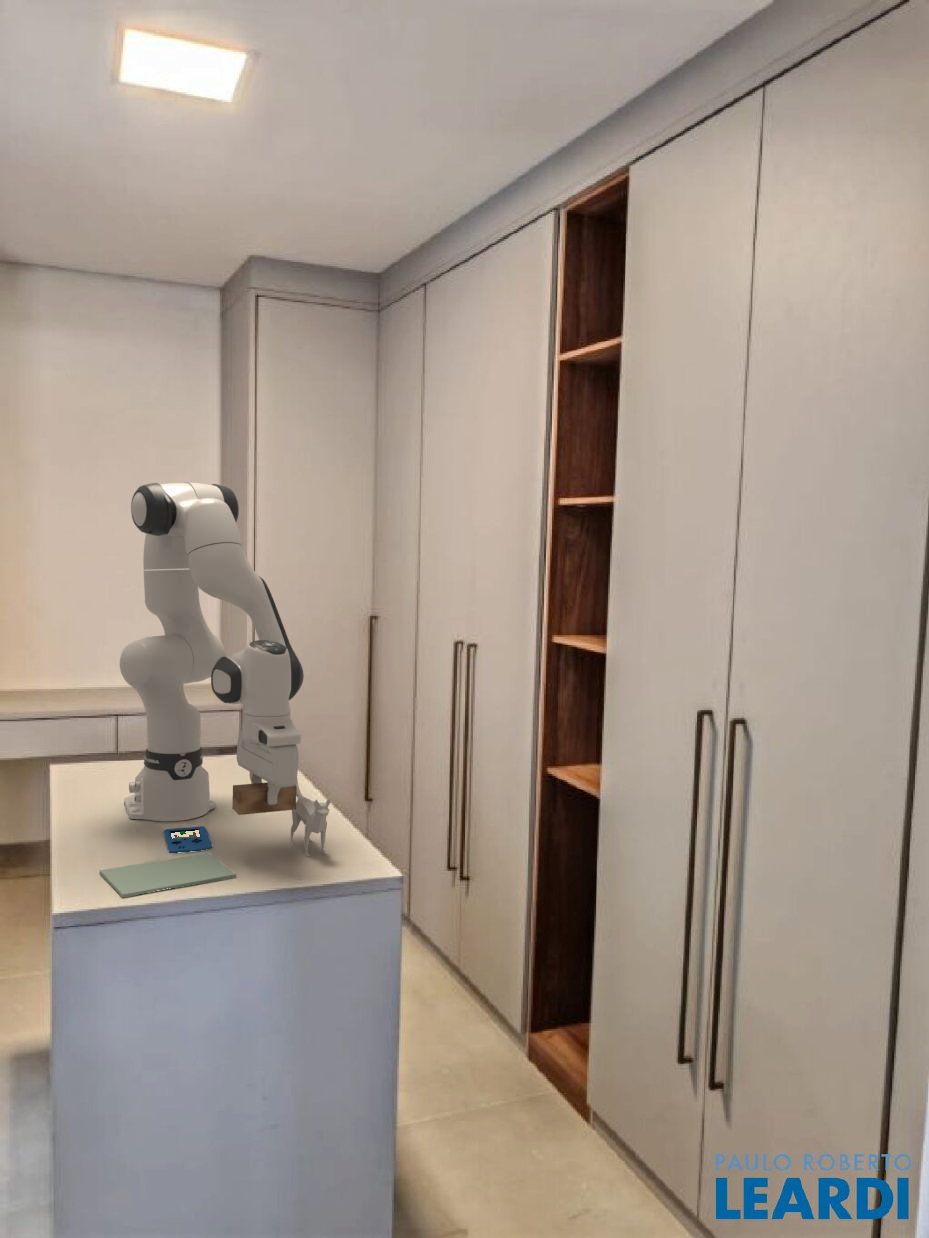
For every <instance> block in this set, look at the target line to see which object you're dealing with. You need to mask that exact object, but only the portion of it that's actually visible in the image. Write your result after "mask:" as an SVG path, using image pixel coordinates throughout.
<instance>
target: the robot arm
mask: <svg viewBox="0 0 929 1238" xmlns="http://www.w3.org/2000/svg"><path fill="white" fill-rule="evenodd" d="M130 504H131V505H130V512H131V519H132V522H133V523H134V525H135V526H136V528H137V529H138V530H139V531H140V532H141V533H143V534H145V538H144V546H143V558H142V559H143V566H142V567H143V585H144V586H143V587H144V604H145V606H146V609H147V610H148V611H149V612H150V613H152V614H153V615H155V616H156V617H157V618H158V620H159V621H160V623H161V625H162V627H163V628H162V629H163V633H164V635H154V636H152V635H151V636H147V637H143V638H140V639H138V640H135V641H133V642H130V643H128V644H127V645H126V646H125V647H124V648H123V650H122V651H121V654H120V656H119V657H120V659H119V669H120V674H121V676H122V678H123V680H124V681H125V682H126V683H127V684H128V685H129V686H131V687H132V688H133V689H134V690H135V691H136V692H137V694H138V696H139V697H140V699H141V701H142V705H143V707H144V710H145V715H146V717H145V718H146V728H147V729H146V731H147V732H146V733H147V735H146V737H147V741H146V742H147V748H146V749H145V753H144V756H143V759H144V761H143V765H144V767H143V768H142V769H141V771H140V772H139V773H138V774H137V775H136V777H135V779H134V781H132V782H129V784H128V791H129V793H130V794H133V795H129V796H126V797H124V800H123V803H124V805H125V809H126V811H127V814H128V817H129V819H132V820H148V821H149V820H150V821H157V822H175V821H176V822H177V821H186V820H192V819H195V818H199V817H202V816H205V815H206V814H207V813H208V812H210V810H214V809H216V808H217V802H215V801H212V800H211V795H210V790H211V789H210V775H209V772H208V771H207V770H206V769H205V768H204V767H203V766H202V765H203V764H204V762H203V760H204V759H203V758H204V752H203V747H202V746H201V731H202V729H201V721H202V718H201V717H202V716H201V713H200V711H199V710H198V708H197V707H196V706H194V705H193V704H191V703H190V702H188V699H187V698H186V694H185V690H184V685H186V684H193V683H199V682H202V681H205V680H207V679H209V678H210V684H211V689H212V693H213V694H214V695H215V697H217V698H218V699H219V700H220V701H221V702H222V703H225V704H230V705H241V704H242V705H243V710H242V726H241V727H242V729H241V730H240V731H239V732H238V736H237V746H236V762H237V765H238V766H239V767H241V768H242V769H244V770H246V771H248V772H249V779H250V784H255V783H263V780H264V781H265V782H268V787H269V789H268V793H267V794H266V800H265V801H266V803H268V804H270V805H273V804H276V803H277V797H278V793H279V791H280V788H282V787H290V786H294V784H295V782H296V780H298V773H299V772H298V771H299V748H298V746H297V745H300V744H301V741H302V740H301V739H302V736H301V733H300V731H299V730H298V729H297V728H296V726H295V725H294V723H293V720H292V719H291V707H290V703H289V701H291V700H292V699H293V698H294V697H295V696H296V694H297V693H298V692H299V691H300V690H301V687H302V685H303V681H304V670H303V666H302V664H301V662H300V660H299V657H298V656H297V654H296V653H295V650H294V649H293V647H292V645H291V643H290V639H289V638H288V634H287V632H286V629H285V627H284V626H285V625H284V624H283V621H282V619H281V616H280V613H279V611H278V608H277V605H276V603H275V600H274V597H273V596H272V592H271V591H270V588H269V587H268V584H267V582H266V581H265V580H264V578H262V577H261V576H260V575H259V574H257V572H256V571H255V570H254V569H253V567H252V565H251V563H250V562H249V561H248V558H247V556H246V553H245V550H244V545H243V542H242V536H241V533H240V531H239V528H238V527H239V526H238V524H237V522H238V519H239V512H240V511H239V509H240V508H239V501H238V499H237V496H236V494H235V493H234V491H233V490H232V489H231V488H229V487H227V486H224V485H221V484H216V483H212V484H210V483H209V484H207V483H201V482H199V483H198V482H193V481H192V482H189V481H185V482H170V483H158V482H153V483H146V484H142V485H140V486H139V487H137V489H136V490H135V492H134V493H133V495H132V499H131V503H130ZM199 590H201V591H202V592H204V593H205V594H207V595H209V596H210V597H212V598H216V599H218V600H222V601H223V602H226V603H230V604H232V605H234V606H236V607H237V608H239V609H241V610H242V611H244V612H245V613H246V614H247V615H248V616H249V618H250V620H251V622H252V625H253V627H254V629H255V633H256V636H257V637H258V640H253V641H251V642H249V643H248V644H247V645H246V646H245V648H244V649H242V650H240V651H238V652H235V653H232V654H228V655H226V649H225V646H224V643H223V642H222V641H221V639H220V638H219V637H217V636H216V635H215V634H214V633H213V632H212V631H211V629H210V628H209V626H208V624H207V622H206V620H205V617H204V614H203V611H202V607H201V604H200V593H199Z"/></svg>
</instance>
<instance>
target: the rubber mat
mask: <svg viewBox="0 0 929 1238" xmlns="http://www.w3.org/2000/svg"><path fill="white" fill-rule="evenodd" d="M99 874H100V876H101V877H102V878H103V879H104V880H105V881H106V882H107V883H108V884H109V886H111V887H112V888H113V890H114V891H115V892H116V893H117V892H118V893H117V894H118V895H119V896H120V897H121V898H122V897H125V898H129V897H135V896H136V895H137V896H140V895H139V894H142V895H145V894H144V893H148V892H153V891H157V890H163V889H167V888H168V889H169V888H175V889H180V888H179V887H181V888H184V887H183V886H186V887H191V886H190V885H192V886H197V885H202V883H203V884H207V882H208V883H212V882H213V881H214V882H219V881H225V880H229V878H230V879H235V878H237V873H236V872H234V871H233V870H232V869H230V868H229V867H227V866H226V865H225V864H223V862H221V861H220V860H218V859H217V858H215V856H213V855H212V854H210V853H209V852H203V853H202V852H201V853H197V854H190V855H186V856H179V857H178V856H177V857H172V858H165V859H159V860H154V861H149V862H141V863H135V864H129V865H123V866H118V867H117V866H116V867H112V868H105V869H99ZM224 879H225V880H224ZM196 884H197V885H196ZM153 893H154V892H153ZM148 894H149V893H148Z"/></svg>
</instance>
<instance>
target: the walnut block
mask: <svg viewBox="0 0 929 1238" xmlns="http://www.w3.org/2000/svg"><path fill="white" fill-rule="evenodd" d="M296 788H297V786H295V785H294V786H290V787H282V788H280V791H279V793H278V797H277V803H276V804H273V805H270V804H268V803H266V801H265V800H266V794H267V793H268V789H269V787H268V782H267V781H265V782H262V783H255V784H251V783H246V784H243V783H242V784H235V785H234V784H233V785H232V804H231V805H232V806H231V807H232V810H233V811H234V812H235V813H236V814H237V815H238V816H245V815H253V814H265V813H273V812H282V811H283V812H286V811H292V810H296V802H297V796H296Z"/></svg>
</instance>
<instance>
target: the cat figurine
mask: <svg viewBox="0 0 929 1238" xmlns="http://www.w3.org/2000/svg"><path fill="white" fill-rule="evenodd" d="M298 781H299V780H298V779H297V780H296V782H295V784H294V785H295V786H297V788H296V810H291V815H292V816H291V817H292V818H291V819H292V824H291V827H290V828H291V829H290V843H291V844H292V845H295V841H293V837H294V833H295V832H296V831H297V829H298V827H299V825H300V823H301V822H302V823H303V825H304V837H303V838H304V839H303V841H304V855H305V856H307V857H310V856H311V855H310V854H309V852H308V850H309V843H312V842H313V840H312V839H310V837H311V834H312V833H314V834H318V833H319V834H320V844H321V846H320V847H321V854H323V855H326V854H327V853H326V851H325V843H326V837H327V836H326V832H327V826H328V821H327V816H328V815H329V813H330V809H329V805H330V804H331V802H332V801H331V800H330V799H329V798H327V799H326V801H325V802H319V801H318V799H316V800H315V801H314V800H311V799H310V798H307V797H305V796H304V795H303V794H302V793H301V790H300V787H299V782H298Z"/></svg>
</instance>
